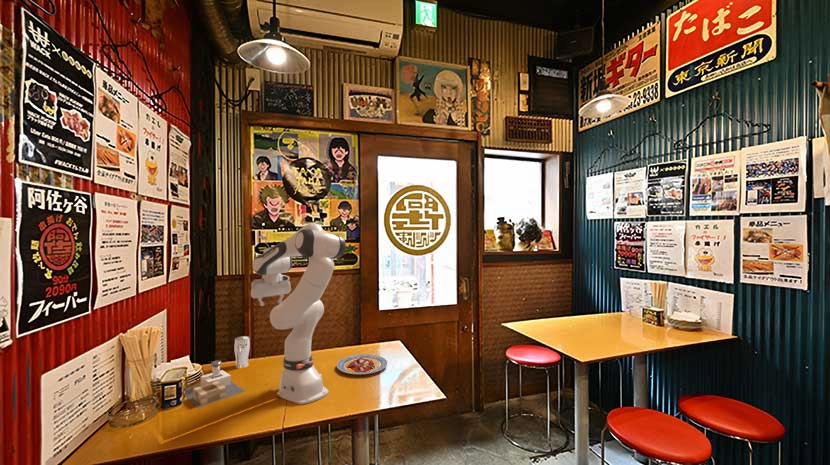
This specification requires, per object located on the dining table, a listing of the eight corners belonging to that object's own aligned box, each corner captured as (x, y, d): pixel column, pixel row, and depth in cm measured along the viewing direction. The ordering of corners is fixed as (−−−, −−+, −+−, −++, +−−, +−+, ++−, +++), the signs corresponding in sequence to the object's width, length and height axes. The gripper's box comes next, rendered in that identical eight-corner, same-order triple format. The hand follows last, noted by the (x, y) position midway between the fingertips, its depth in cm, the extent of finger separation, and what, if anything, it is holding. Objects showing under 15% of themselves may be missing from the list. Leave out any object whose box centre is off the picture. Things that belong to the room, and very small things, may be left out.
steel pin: (222, 384, 150) (222, 362, 150) (212, 387, 147) (212, 364, 147) (218, 381, 153) (219, 359, 153) (209, 384, 149) (209, 362, 150)
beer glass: (243, 370, 167) (243, 340, 167) (231, 369, 169) (231, 339, 169) (252, 365, 174) (252, 336, 174) (240, 364, 175) (241, 335, 175)
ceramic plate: (325, 369, 171) (326, 363, 171) (361, 354, 192) (361, 349, 192) (363, 383, 156) (363, 376, 156) (397, 365, 177) (397, 359, 177)
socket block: (230, 384, 150) (230, 375, 150) (208, 391, 143) (208, 382, 143) (222, 378, 156) (222, 370, 156) (200, 385, 149) (200, 376, 149)
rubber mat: (245, 393, 144) (245, 391, 144) (197, 410, 130) (197, 407, 130) (224, 378, 158) (224, 376, 158) (179, 392, 144) (179, 390, 144)
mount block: (225, 397, 139) (225, 387, 139) (201, 405, 132) (201, 395, 132) (217, 390, 145) (217, 380, 145) (193, 397, 138) (193, 388, 138)
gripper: (254, 280, 167) (253, 308, 167) (292, 276, 182) (292, 302, 182) (248, 279, 171) (248, 306, 171) (286, 275, 186) (285, 300, 186)
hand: (271, 304), depth 177 cm, fingers open, 8 cm apart
